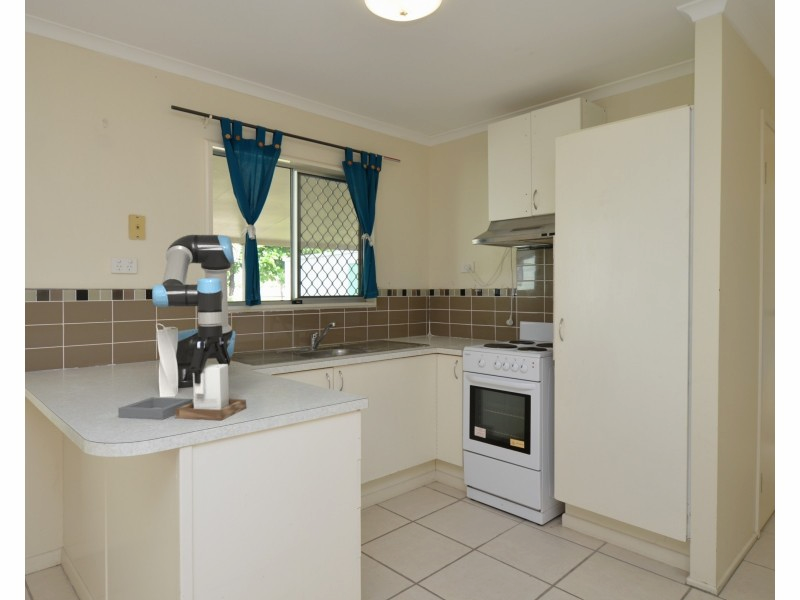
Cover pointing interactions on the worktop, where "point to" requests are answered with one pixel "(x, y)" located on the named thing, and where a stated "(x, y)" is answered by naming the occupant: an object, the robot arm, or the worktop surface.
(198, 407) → the supplement box
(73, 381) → the worktop surface
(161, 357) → the skyscraper
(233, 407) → the tray
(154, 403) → the gray square tray
